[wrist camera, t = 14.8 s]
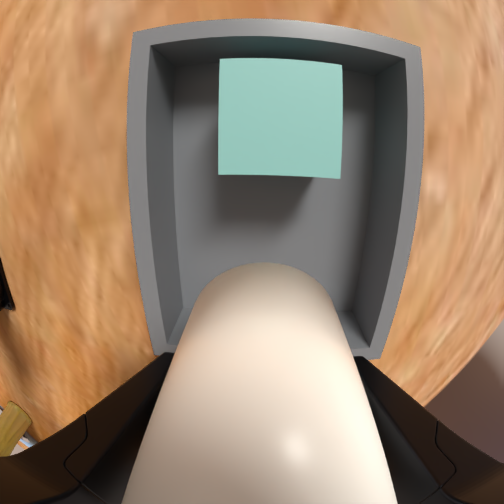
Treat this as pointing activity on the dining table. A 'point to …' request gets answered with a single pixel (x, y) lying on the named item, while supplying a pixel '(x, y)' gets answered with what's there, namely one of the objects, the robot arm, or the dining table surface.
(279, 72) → the teal cube
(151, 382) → the robot arm
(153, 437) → the white cylinder
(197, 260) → the tote
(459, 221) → the dining table surface
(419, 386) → the dining table surface
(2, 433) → the vase
